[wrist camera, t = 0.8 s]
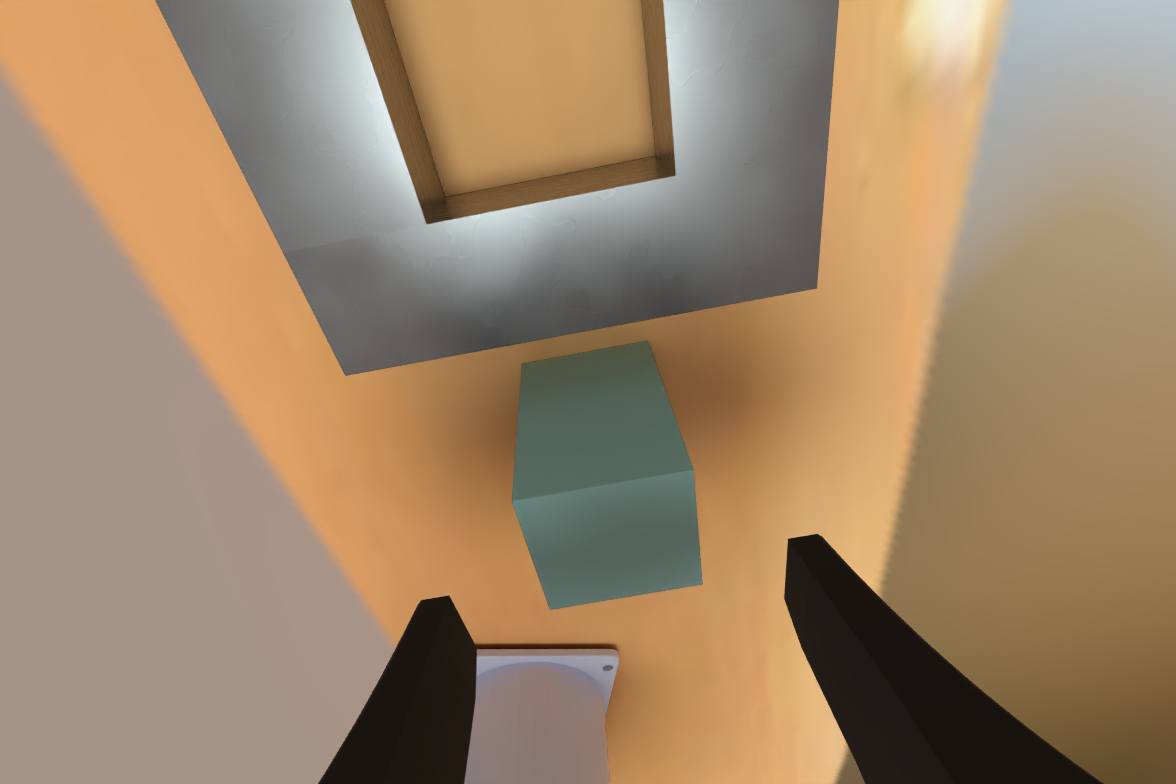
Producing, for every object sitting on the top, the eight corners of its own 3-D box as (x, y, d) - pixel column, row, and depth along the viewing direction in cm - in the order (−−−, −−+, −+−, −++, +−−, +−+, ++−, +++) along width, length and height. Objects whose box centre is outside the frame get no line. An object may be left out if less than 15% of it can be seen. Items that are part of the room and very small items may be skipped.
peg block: (659, 439, 18) (702, 584, 13) (548, 458, 19) (549, 609, 14) (647, 340, 16) (693, 469, 11) (521, 363, 16) (511, 501, 11)
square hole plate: (778, 255, 15) (816, 288, 13) (372, 331, 15) (345, 375, 13) (803, -468, 8) (888, -638, 6) (91, -297, 9) (-50, -405, 7)
